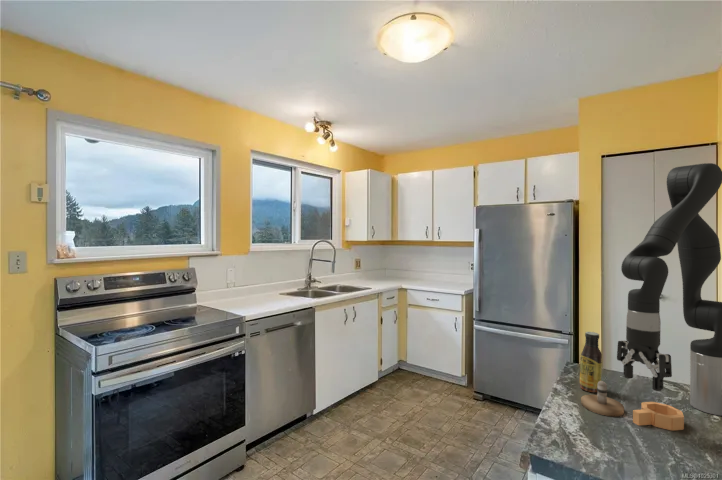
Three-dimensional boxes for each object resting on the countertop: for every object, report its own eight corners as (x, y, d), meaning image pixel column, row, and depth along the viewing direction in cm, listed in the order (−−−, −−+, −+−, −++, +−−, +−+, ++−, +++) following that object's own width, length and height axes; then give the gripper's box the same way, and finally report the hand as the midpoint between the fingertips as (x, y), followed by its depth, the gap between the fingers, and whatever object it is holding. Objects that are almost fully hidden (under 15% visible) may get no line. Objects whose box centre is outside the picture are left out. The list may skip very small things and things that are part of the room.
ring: (659, 412, 106) (659, 400, 106) (691, 428, 97) (692, 416, 97) (621, 415, 104) (621, 404, 104) (651, 432, 95) (651, 419, 95)
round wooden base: (603, 398, 115) (603, 373, 115) (633, 414, 105) (633, 387, 105) (572, 400, 114) (573, 375, 114) (600, 417, 103) (600, 390, 103)
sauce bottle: (575, 387, 124) (575, 331, 124) (588, 384, 126) (588, 329, 125) (592, 395, 118) (592, 336, 117) (606, 392, 119) (606, 334, 119)
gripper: (680, 333, 93) (679, 394, 93) (631, 320, 107) (630, 373, 107) (656, 334, 92) (655, 395, 92) (609, 321, 106) (609, 374, 106)
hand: (642, 383), depth 100 cm, fingers open, 8 cm apart
